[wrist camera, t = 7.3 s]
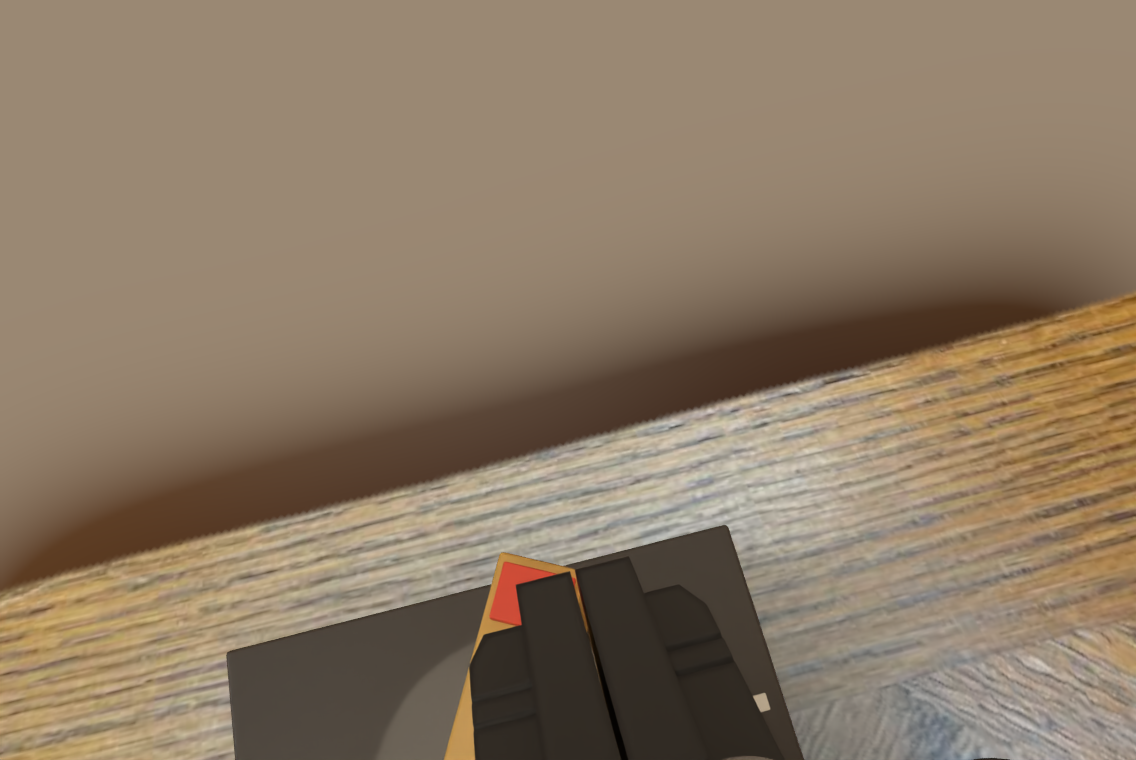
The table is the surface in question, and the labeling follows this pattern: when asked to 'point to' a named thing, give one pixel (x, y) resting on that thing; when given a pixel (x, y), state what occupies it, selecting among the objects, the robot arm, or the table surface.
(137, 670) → the table surface
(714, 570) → the plate
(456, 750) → the lock knob
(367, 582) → the table surface
